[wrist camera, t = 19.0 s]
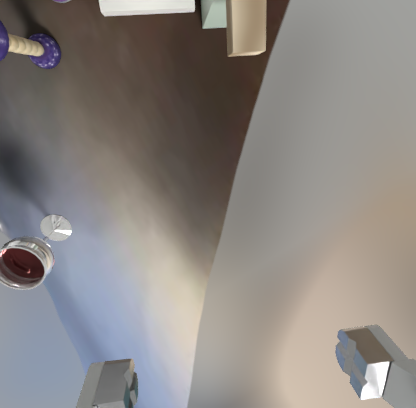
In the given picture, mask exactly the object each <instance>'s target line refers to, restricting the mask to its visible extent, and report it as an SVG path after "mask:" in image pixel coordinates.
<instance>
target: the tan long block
mask: <svg viewBox="0 0 416 408" xmlns="http://www.w3.org/2000/svg"><path fill="white" fill-rule="evenodd" d="M226 22H227V52H228V57H229V56H246V55H258V54H260V53H262V52H264V51H266V0H226Z"/></svg>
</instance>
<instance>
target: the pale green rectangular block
mask: <svg viewBox="0 0 416 408" xmlns="http://www.w3.org/2000/svg"><path fill="white" fill-rule="evenodd" d="M201 12H202V29H204V28H223V27H227V22H226V0H201Z"/></svg>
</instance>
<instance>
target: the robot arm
mask: <svg viewBox="0 0 416 408" xmlns="http://www.w3.org/2000/svg"><path fill="white" fill-rule="evenodd" d="M338 339H339V340H340V342H339V343H338V344H337V345H336V356H337V360H338V363H339V365H340V367H341V368H342V370H343V372H345V373H346V374H348V375H349V376H350V384H351V385H352V387H353V388H354V390H355V392H356V393H357V395H358V397H359V398H360V399H361V400H362V399H370V398H379V397H383V399H384V400H385V401H387V402H388V403H389V404H390V405H392V406H393V407H394V408H416V360H414V359H408V358H407V357H406V355H405V354H404V353H403V352H402V351H401V350H400V349H399V348H398V347H397V345H396V344H395V343H394V342H393V341H392V340H391V339H390V337H389V336H388V335H387V334H386V333H385V332H384V331H383V329H382V328H381V327H380V326H378V325H370V326H364V327H363V326H361V327H354V328H348V329H341V330H339V332H338ZM134 366H135V364H134V360H133V359H123V360H114V361H105V362H98V363H92V364H91V365H90V367H89V369H88V372H87V375H86V378H85V381H84V384H83V387H82V390H81V393H80V397H79V399H78V403H77V406H76V408H134V405H135V404H136V403H137V398H138V378H137V373H135V372H134Z"/></svg>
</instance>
